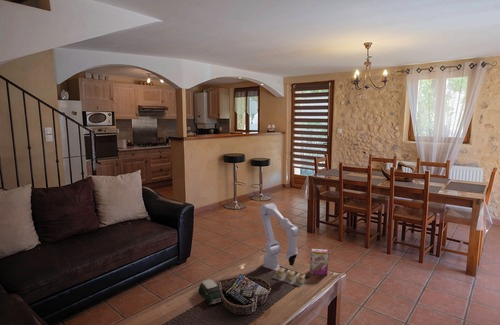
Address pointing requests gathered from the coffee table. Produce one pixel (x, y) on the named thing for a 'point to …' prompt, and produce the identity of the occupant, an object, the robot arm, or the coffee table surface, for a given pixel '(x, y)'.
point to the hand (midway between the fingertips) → (291, 265)
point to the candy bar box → (319, 261)
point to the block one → (280, 272)
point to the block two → (300, 278)
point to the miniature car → (210, 291)
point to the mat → (290, 281)
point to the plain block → (290, 275)
